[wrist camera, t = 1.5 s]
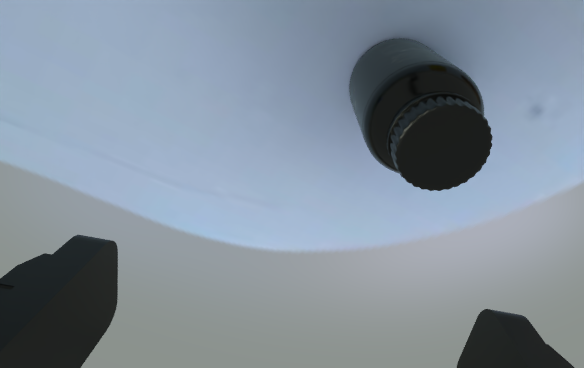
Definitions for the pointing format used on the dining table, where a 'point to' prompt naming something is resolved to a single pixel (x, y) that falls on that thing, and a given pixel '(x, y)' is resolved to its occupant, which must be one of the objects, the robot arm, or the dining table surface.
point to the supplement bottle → (420, 114)
